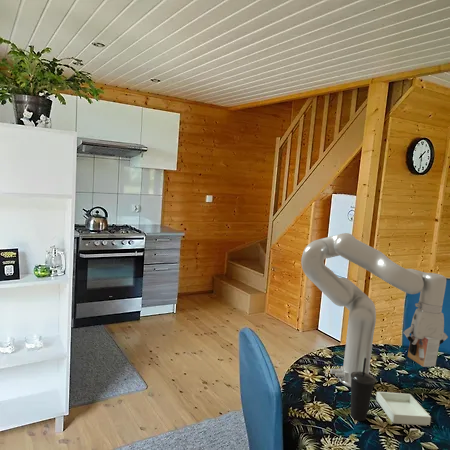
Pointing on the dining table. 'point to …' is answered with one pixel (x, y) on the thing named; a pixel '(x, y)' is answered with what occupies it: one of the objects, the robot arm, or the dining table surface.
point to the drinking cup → (361, 393)
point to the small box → (426, 351)
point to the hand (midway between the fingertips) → (422, 354)
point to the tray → (403, 408)
